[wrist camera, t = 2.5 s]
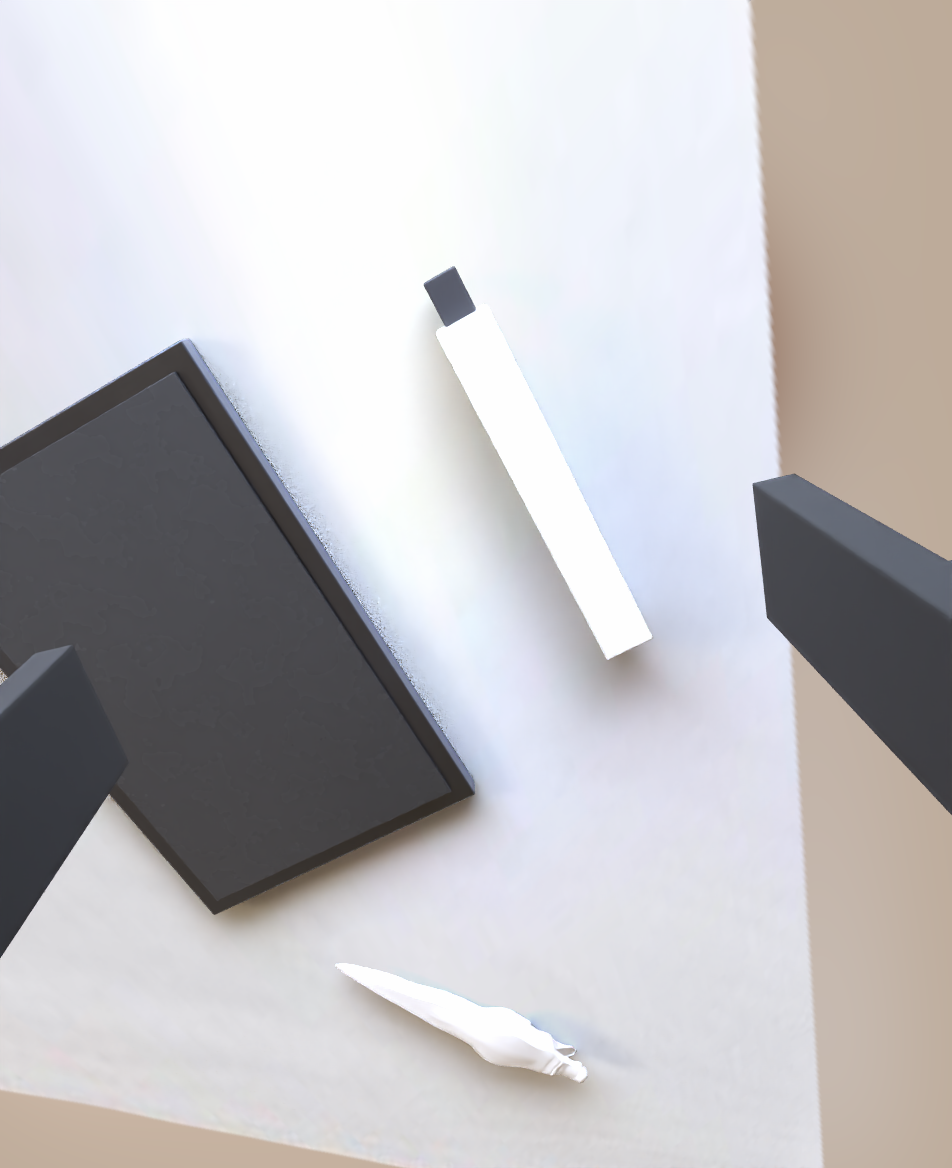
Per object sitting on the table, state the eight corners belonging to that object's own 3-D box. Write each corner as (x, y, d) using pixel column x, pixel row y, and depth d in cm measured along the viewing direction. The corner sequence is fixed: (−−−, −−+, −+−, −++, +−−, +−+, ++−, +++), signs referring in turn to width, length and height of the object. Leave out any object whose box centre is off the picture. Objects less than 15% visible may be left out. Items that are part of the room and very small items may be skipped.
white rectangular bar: (463, 260, 28) (465, 259, 25) (639, 614, 33) (653, 638, 31) (414, 288, 28) (411, 289, 26) (596, 635, 33) (607, 660, 31)
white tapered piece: (596, 1038, 42) (602, 1072, 40) (568, 1069, 43) (573, 1102, 41) (350, 932, 39) (345, 963, 37) (324, 967, 39) (319, 998, 38)
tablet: (189, 337, 28) (178, 340, 27) (475, 781, 36) (475, 797, 35) (-110, 515, 30) (-131, 524, 29) (219, 900, 38) (212, 919, 37)
